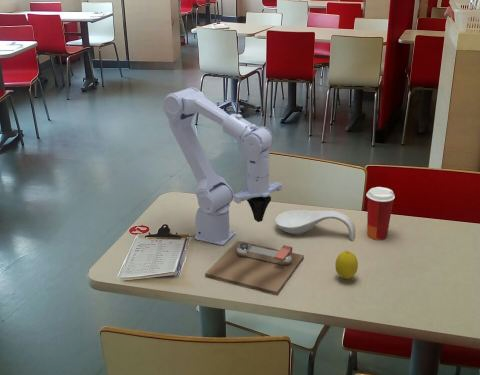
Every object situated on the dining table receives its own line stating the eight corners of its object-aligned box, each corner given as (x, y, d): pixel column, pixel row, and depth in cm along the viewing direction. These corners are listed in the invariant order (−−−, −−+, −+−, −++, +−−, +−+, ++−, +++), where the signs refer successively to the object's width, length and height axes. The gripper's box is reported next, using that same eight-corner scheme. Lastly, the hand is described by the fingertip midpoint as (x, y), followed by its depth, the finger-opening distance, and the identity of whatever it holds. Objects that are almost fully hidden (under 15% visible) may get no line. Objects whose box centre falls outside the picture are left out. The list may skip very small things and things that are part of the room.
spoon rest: (270, 236, 160) (270, 214, 158) (280, 218, 171) (280, 198, 168) (351, 247, 154) (353, 224, 151) (356, 228, 164) (358, 207, 161)
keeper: (274, 267, 142) (274, 256, 141) (283, 255, 148) (283, 245, 146) (282, 269, 141) (283, 258, 140) (292, 257, 147) (292, 247, 145)
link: (234, 255, 148) (234, 246, 147) (240, 248, 151) (240, 240, 150) (288, 266, 142) (288, 258, 141) (293, 259, 145) (293, 251, 144)
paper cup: (391, 231, 161) (396, 188, 156) (389, 243, 155) (394, 198, 149) (364, 227, 164) (368, 184, 158) (361, 239, 157) (365, 195, 152)
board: (205, 276, 140) (205, 273, 140) (237, 243, 156) (237, 240, 156) (277, 295, 132) (277, 291, 132) (303, 258, 148) (303, 255, 148)
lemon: (356, 285, 136) (358, 258, 132) (334, 283, 137) (335, 255, 133) (356, 273, 141) (359, 246, 137) (335, 271, 142) (336, 244, 138)
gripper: (244, 185, 136) (244, 233, 142) (289, 172, 144) (288, 218, 149) (228, 176, 142) (229, 223, 147) (273, 164, 149) (272, 209, 155)
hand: (258, 220), depth 149 cm, fingers closed
